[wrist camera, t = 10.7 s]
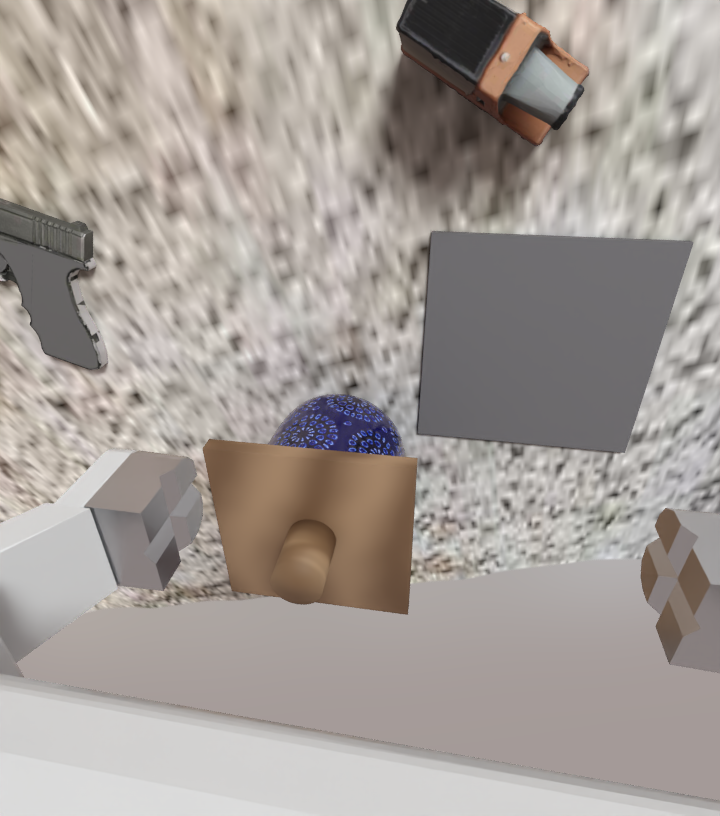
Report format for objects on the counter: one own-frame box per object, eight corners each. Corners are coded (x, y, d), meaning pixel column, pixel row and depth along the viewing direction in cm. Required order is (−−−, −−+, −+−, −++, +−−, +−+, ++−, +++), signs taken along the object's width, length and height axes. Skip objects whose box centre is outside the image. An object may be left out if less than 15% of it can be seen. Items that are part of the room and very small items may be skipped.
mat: (691, 241, 33) (693, 242, 32) (623, 449, 41) (624, 452, 41) (431, 231, 35) (431, 232, 35) (418, 430, 43) (417, 433, 43)
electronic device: (535, 147, 32) (553, 161, 25) (398, 53, 30) (380, 44, 24) (588, 70, 29) (621, 64, 23) (441, -35, 28) (434, -71, 22)
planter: (259, 419, 46) (206, 506, 36) (353, 352, 41) (320, 432, 31) (341, 501, 49) (312, 600, 40) (437, 448, 44) (430, 547, 35)
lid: (417, 458, 31) (410, 516, 27) (408, 602, 38) (402, 667, 34) (209, 439, 33) (172, 491, 29) (236, 580, 40) (210, 638, 36)
